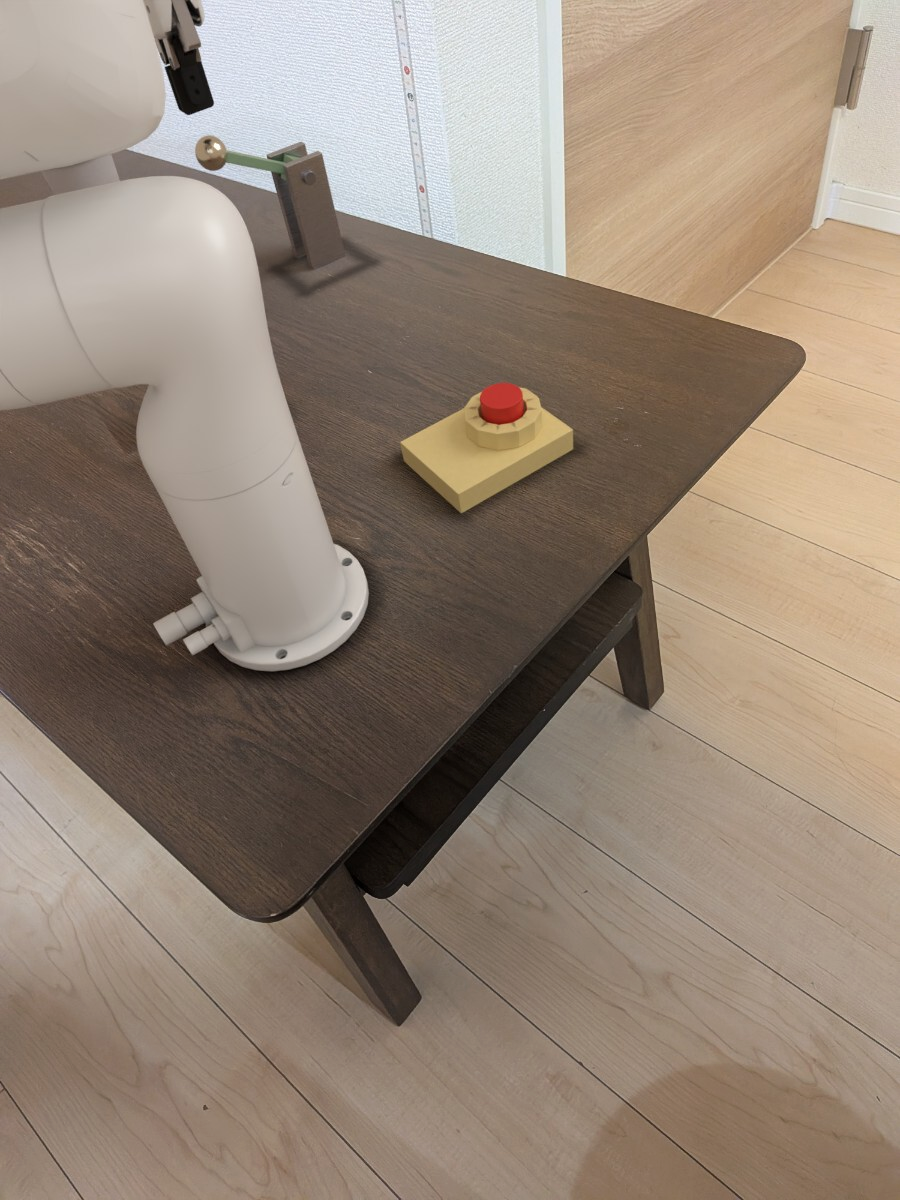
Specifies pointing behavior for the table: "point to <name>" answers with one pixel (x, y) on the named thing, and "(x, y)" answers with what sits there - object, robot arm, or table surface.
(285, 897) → the table surface
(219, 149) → the lever
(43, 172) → the coffee cup
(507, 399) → the button
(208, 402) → the robot arm
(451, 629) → the table surface
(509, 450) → the button box
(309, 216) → the bracket
